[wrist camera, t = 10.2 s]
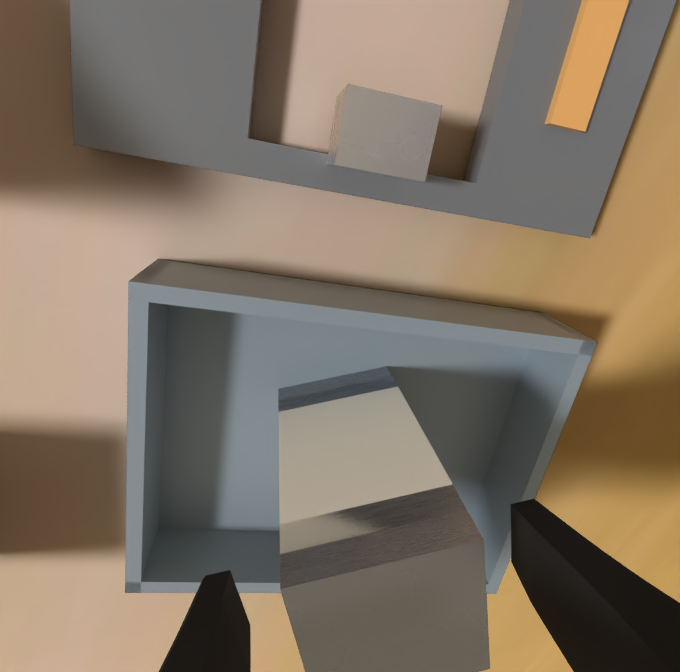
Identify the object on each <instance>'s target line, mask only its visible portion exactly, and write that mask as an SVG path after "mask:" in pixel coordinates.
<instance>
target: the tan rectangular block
mask: <svg viewBox="0 0 680 672" xmlns="http://www.w3.org/2000/svg"><path fill="white" fill-rule="evenodd" d="M278 416H279V516H280V590H281V593H282V597H283V600H284V603H285V606H286V610H287V613H288V616H289V620H290V623H291V626H292V629H293V633H294V636H295V639H296V642H297V646H298V649H299V652H300V656H301V659H302V662H303V665H304V669H305V672H479V671H483V670H487V669H490V658H489V637H488V615H487V594H486V572H485V551H484V539H483V537H482V536H481V534H480V532H479V530H478V528H477V527H476V525H475V523H474V521H473V519H472V518H471V516H470V514H469V512H468V511H467V509H466V507H465V505H464V503H463V502H462V500H461V498H460V496H459V494H458V493H457V491H456V489H455V487H454V486H453V484H452V482H451V480H450V478H449V477H448V475H447V473H446V471H445V469H444V468H443V466H442V464H441V462H440V461H439V459H438V457H437V455H436V453H435V452H434V450H433V448H432V446H431V444H430V443H429V441H428V439H427V437H426V436H425V434H424V432H423V430H422V428H421V427H420V425H419V423H418V421H417V419H416V418H415V416H414V414H413V412H412V411H411V409H410V407H409V405H408V403H407V402H406V400H405V398H404V396H403V394H402V393H401V391H400V389H399V387H398V386H397V384H396V382H395V380H394V378H393V377H392V375H391V373H390V371H389V369H388V368H387V366H384V367H380V368H375V369H370V370H365V371H360V372H356V373H351V374H346V375H341V376H337V377H332V378H327V379H322V380H318V381H313V382H308V383H303V384H298V385H294V386H289V387H284V388H279V389H278Z"/></svg>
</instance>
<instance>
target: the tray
mask: <svg viewBox="0 0 680 672" xmlns="http://www.w3.org/2000/svg"><path fill="white" fill-rule="evenodd" d="M596 344H597V342H596V341H595V340H593V339H591V338H589V337H587V336H585V335H584V334H582V333H580V332H578V331H576V330H574V329H572V328H571V327H569V326H567V325H565V324H563V323H561V322H559V321H558V320H556V319H554V318H552V317H550V316H548V315H546V314H545V313H540V312H533V311H526V310H519V309H512V308H504V307H497V306H490V305H483V304H476V303H469V302H462V301H455V300H447V299H440V298H433V297H426V296H419V295H412V294H405V293H398V292H390V291H383V290H376V289H369V288H362V287H355V286H348V285H341V284H333V283H326V282H319V281H312V280H305V279H298V278H291V277H284V276H276V275H269V274H262V273H255V272H248V271H241V270H234V269H227V268H219V267H212V266H205V265H198V264H191V263H184V262H177V261H170V260H162V259H157V260H156V261H154V262H153V263H152V264H151V265H149V266H148V267H147V268H145V269H144V270H143V271H141V272H140V273H139V274H137V275H136V276H135V277H134V278H132V279H131V280H130V281H129V288H128V380H127V472H126V564H125V593H197V590H198V588H199V586H200V583H201V581H202V579H203V578H204V577H205V576H206V575H210V574H215V573H219V572H223V571H228V570H230V571H231V574H232V577H233V579H234V582H235V585H236V588H237V590H238V593H281V590H280V516H279V416H278V389H279V388H284V387H289V386H294V385H298V384H303V383H308V382H313V381H318V380H322V379H327V378H332V377H337V376H341V375H346V374H351V373H356V372H360V371H365V370H370V369H375V368H380V367H384V366H387V368H388V369H389V371H390V373H391V375H392V377H393V378H394V380H395V382H396V384H397V386H398V387H399V389H400V391H401V393H402V394H403V396H404V398H405V400H406V402H407V403H408V405H409V407H410V409H411V411H412V412H413V414H414V416H415V418H416V419H417V421H418V423H419V425H420V427H421V428H422V430H423V432H424V434H425V436H426V437H427V439H428V441H429V443H430V444H431V446H432V448H433V450H434V452H435V453H436V455H437V457H438V459H439V461H440V462H441V464H442V466H443V468H444V469H445V471H446V473H447V475H448V477H449V478H450V480H451V482H452V484H453V486H454V487H455V489H456V491H457V493H458V494H459V496H460V498H461V500H462V502H463V503H464V505H465V507H466V509H467V511H468V512H469V514H470V516H471V518H472V519H473V521H474V523H475V525H476V527H477V528H478V530H479V532H480V534H481V536H482V537H483V539H484V551H485V572H486V594H496V593H497V591H498V588H499V586H500V583H501V581H502V578H503V576H504V573H505V571H506V568H507V566H508V563H509V561H510V558H511V504H513V503H517V502H521V501H526V500H530V499H535V496H536V494H537V491H538V489H539V486H540V484H541V481H542V479H543V476H544V474H545V471H546V469H547V466H548V464H549V461H550V459H551V456H552V454H553V451H554V449H555V446H556V444H557V441H558V439H559V436H560V434H561V431H562V429H563V426H564V424H565V422H566V419H567V417H568V414H569V412H570V409H571V407H572V404H573V402H574V399H575V397H576V394H577V392H578V389H579V387H580V384H581V382H582V379H583V377H584V374H585V372H586V369H587V367H588V364H589V362H590V359H591V357H592V354H593V352H594V349H595V347H596Z"/></svg>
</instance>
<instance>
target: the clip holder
mask: <svg viewBox="0 0 680 672" xmlns="http://www.w3.org/2000/svg"><path fill="white" fill-rule="evenodd" d="M676 1H677V0H510V2H509V6H508V10H507V14H506V18H505V22H504V26H503V30H502V34H501V38H500V41H499V45H498V49H497V53H496V57H495V61H494V65H493V69H492V73H491V77H490V80H489V84H488V88H487V92H486V96H485V100H484V104H483V108H482V112H481V116H480V119H479V123H478V127H477V131H476V135H475V139H474V143H473V147H472V151H471V155H470V158H469V162H468V166H467V170H466V174H465V178H464V181H461V180H456V179H451V178H446V177H441V176H436V175H431V174H427V171H428V166H429V162H430V158H431V153H432V149H433V144H434V140H435V136H436V131H437V127H438V122H439V118H440V114H441V109H442V105H437V104H433V103H429V102H424V101H420V100H416V99H411V98H407V97H403V96H398V95H394V94H390V93H385V92H381V91H377V90H372V89H368V88H364V87H359V86H355V85H351V84H347V85H346V87H345V88H344V89H343V90H342V91H341V92H340V94H339V95H338V96H337V99H336V105H335V112H334V118H333V125H332V131H331V138H330V144H329V151H328V154H325V153H320V152H314V151H309V150H304V149H299V148H294V147H289V146H284V145H279V144H274V143H269V142H264V141H259V140H254V139H250V131H251V121H252V111H253V100H254V90H255V79H256V69H257V59H258V48H259V38H260V27H261V17H262V7H263V0H69V2H70V36H71V70H72V104H73V138H74V145H77V146H83V147H88V148H94V149H99V150H105V151H110V152H116V153H121V154H127V155H132V156H138V157H143V158H149V159H154V160H160V161H166V162H171V163H177V164H182V165H188V166H193V167H199V168H204V169H210V170H215V171H221V172H226V173H232V174H237V175H243V176H248V177H254V178H259V179H265V180H270V181H276V182H281V183H287V184H292V185H298V186H304V187H309V188H315V189H320V190H326V191H331V192H337V193H342V194H348V195H353V196H359V197H364V198H370V199H375V200H381V201H386V202H392V203H397V204H403V205H408V206H414V207H419V208H425V209H430V210H436V211H442V212H447V213H453V214H458V215H464V216H469V217H475V218H480V219H486V220H491V221H497V222H502V223H508V224H513V225H519V226H524V227H530V228H535V229H541V230H546V231H552V232H557V233H563V234H568V235H574V236H580V237H585V238H590V237H591V234H592V231H593V228H594V226H595V223H596V220H597V217H598V215H599V212H600V209H601V206H602V204H603V201H604V198H605V195H606V193H607V190H608V187H609V184H610V182H611V179H612V176H613V173H614V171H615V168H616V165H617V162H618V160H619V157H620V154H621V151H622V149H623V146H624V143H625V140H626V138H627V135H628V132H629V130H630V127H631V124H632V121H633V119H634V116H635V113H636V110H637V108H638V105H639V102H640V99H641V97H642V94H643V91H644V88H645V86H646V83H647V80H648V77H649V75H650V72H651V69H652V66H653V64H654V61H655V58H656V55H657V53H658V50H659V47H660V44H661V42H662V39H663V36H664V33H665V31H666V28H667V25H668V23H669V20H670V17H671V14H672V12H673V9H674V6H675V3H676Z"/></svg>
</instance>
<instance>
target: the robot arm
mask: <svg viewBox="0 0 680 672" xmlns="http://www.w3.org/2000/svg"><path fill="white" fill-rule="evenodd" d="M511 562H512V564H513V566H514V568H515V570H516V572H517V574H518V576H519V579H520V581H521V583H522V585H523V587H524V589H525V591H526V593H527V595H528V597H529V599H530V601H531V603H532V605H533V606H534V608H535V610H536V611H537V613H538V615H539V616H540V618H541V620H542V621H543V623H544V624H545V626H546V628H547V629H548V631H549V633H550V634H551V636H552V637H553V639H554V641H555V642H556V644H557V645H558V647H559V649H560V650H561V652H562V654H563V655H564V657H565V658H566V660H567V662H568V663H569V665H570V666H571V668H572V670H573V671H574V672H680V603H679V602H677V601H676V600H674V599H673V598H671V597H670V596H668V595H666V594H665V593H663V592H662V591H660V590H659V589H657V588H656V587H654V586H653V585H651V584H650V583H648V582H647V581H645V580H644V579H642V578H641V577H639V576H638V575H636V574H635V573H633V572H632V571H630V570H629V569H628V568H626V567H625V566H623V565H622V564H621V563H619V562H618V561H616V560H615V559H614V558H612V557H611V556H609V555H608V554H607V553H605V552H604V551H602V550H601V549H599V548H598V547H597V546H595V545H594V544H593V543H591V542H590V541H589V540H587V539H586V538H585V537H583V536H582V535H581V534H579V533H578V532H577V531H575V530H574V529H573V528H571V527H570V526H569V525H567V524H566V523H565V522H563V521H562V520H561V519H560V518H558V517H557V516H556V515H554V514H553V513H552V512H551V511H549V510H548V509H547V508H545V507H544V506H543V505H541V504H540V503H539V502H537V501H536V500H535V499H530V500H526V501H521V502H517V503H513V504H511ZM159 672H250V624H249V621H248V618H247V615H246V613H245V610H244V607H243V604H242V602H241V599H240V596H239V593H238V590H237V588H236V585H235V582H234V579H233V577H232V574H231V571H230V570H228V571H223V572H219V573H215V574H210V575H206V576H205V577H204V578H203V579H202V581H201V583H200V586H199V588H198V590H197V593H196V595H195V597H194V599H193V602H192V604H191V606H190V608H189V610H188V613H187V615H186V617H185V619H184V621H183V623H182V626H181V628H180V630H179V632H178V634H177V636H176V638H175V640H174V642H173V644H172V646H171V648H170V650H169V652H168V654H167V656H166V658H165V660H164V662H163V664H162V666H161V668H160V670H159Z"/></svg>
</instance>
